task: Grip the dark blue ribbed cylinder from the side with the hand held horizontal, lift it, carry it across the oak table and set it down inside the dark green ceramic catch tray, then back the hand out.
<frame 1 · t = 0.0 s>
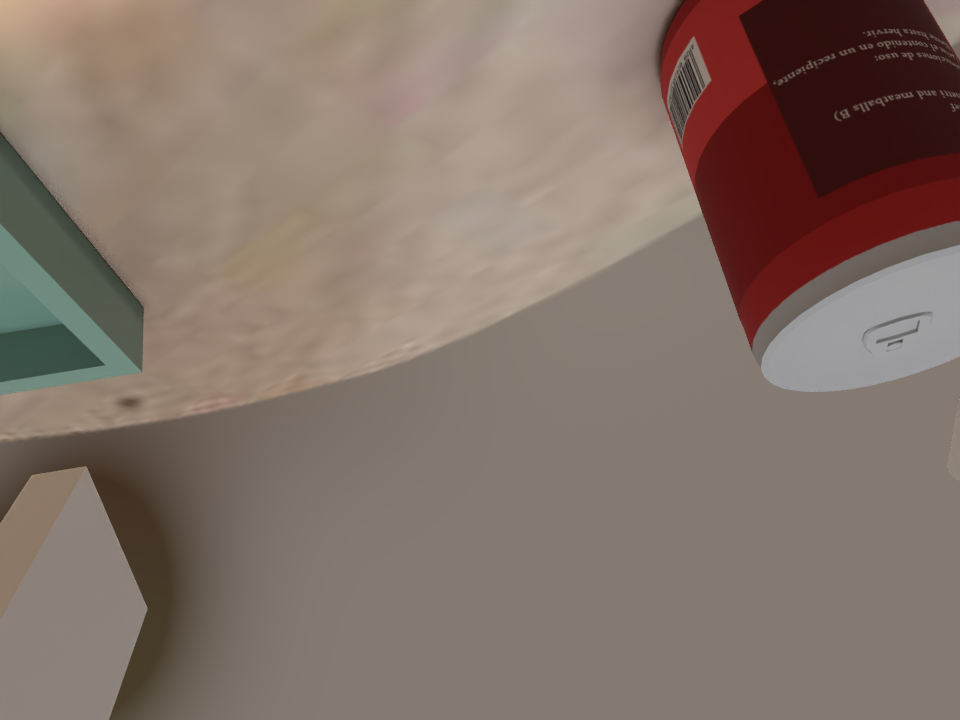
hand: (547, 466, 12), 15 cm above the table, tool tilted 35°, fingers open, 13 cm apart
canned food: (769, 26, 26), on the table
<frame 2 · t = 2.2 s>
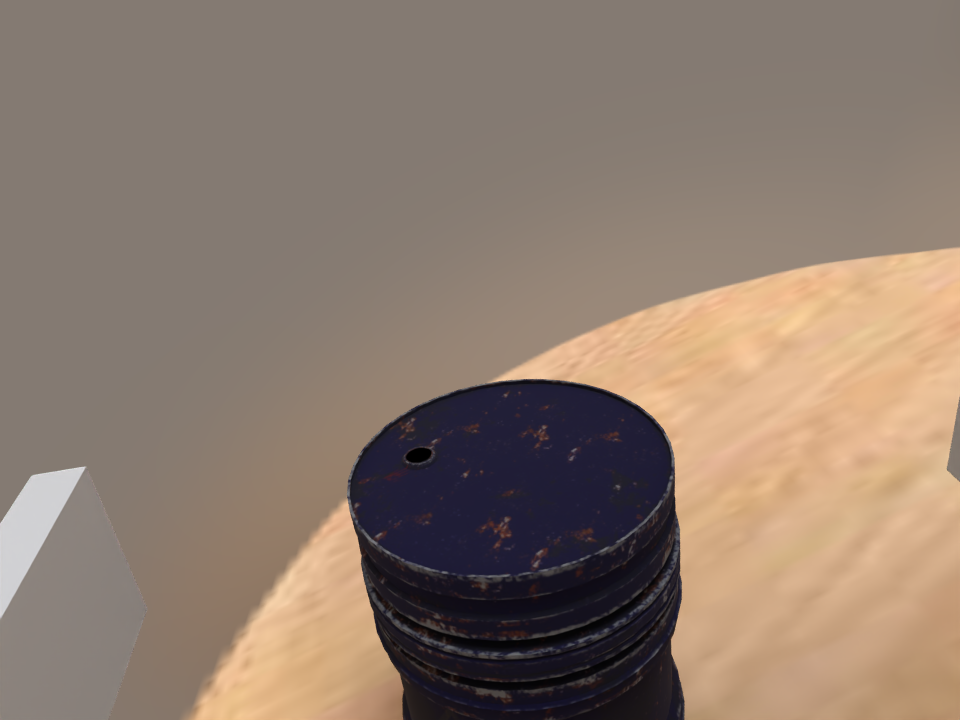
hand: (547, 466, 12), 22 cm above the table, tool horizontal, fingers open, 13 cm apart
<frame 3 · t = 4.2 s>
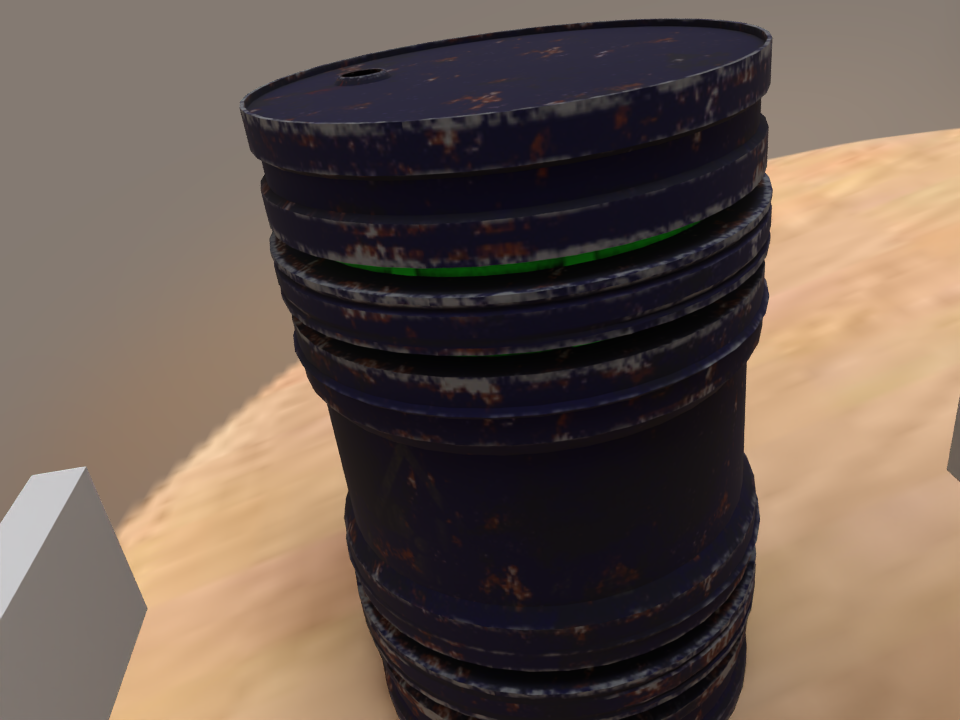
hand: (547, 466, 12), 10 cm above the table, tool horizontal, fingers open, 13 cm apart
dark blue ribbed cylinder: (561, 640, 22), on the table
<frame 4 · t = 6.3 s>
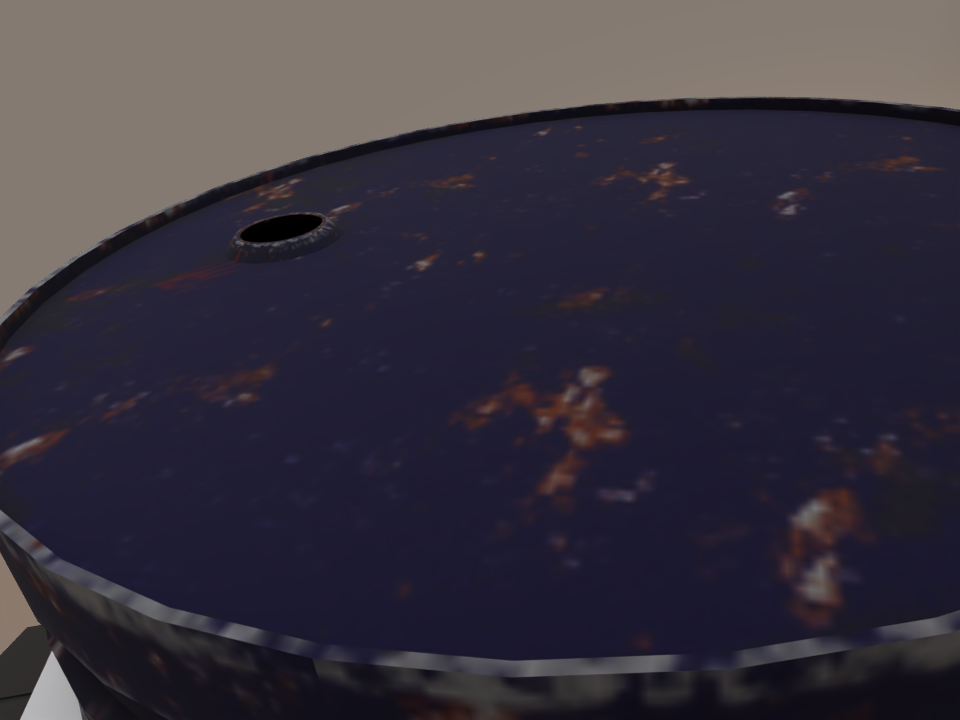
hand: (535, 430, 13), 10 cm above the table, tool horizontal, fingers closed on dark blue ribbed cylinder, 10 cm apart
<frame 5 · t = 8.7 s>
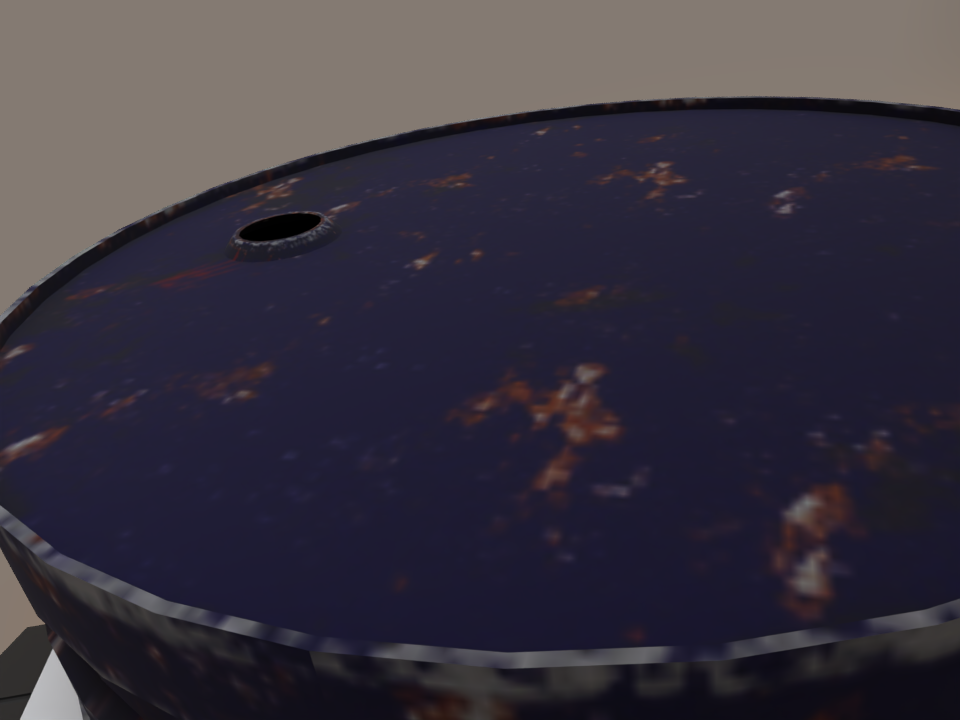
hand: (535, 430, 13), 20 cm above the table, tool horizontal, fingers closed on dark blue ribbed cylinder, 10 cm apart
when the fingers open (12 cm above the table, at t = 11.4 s): dark blue ribbed cylinder drops 1 cm, resting on catch tray.
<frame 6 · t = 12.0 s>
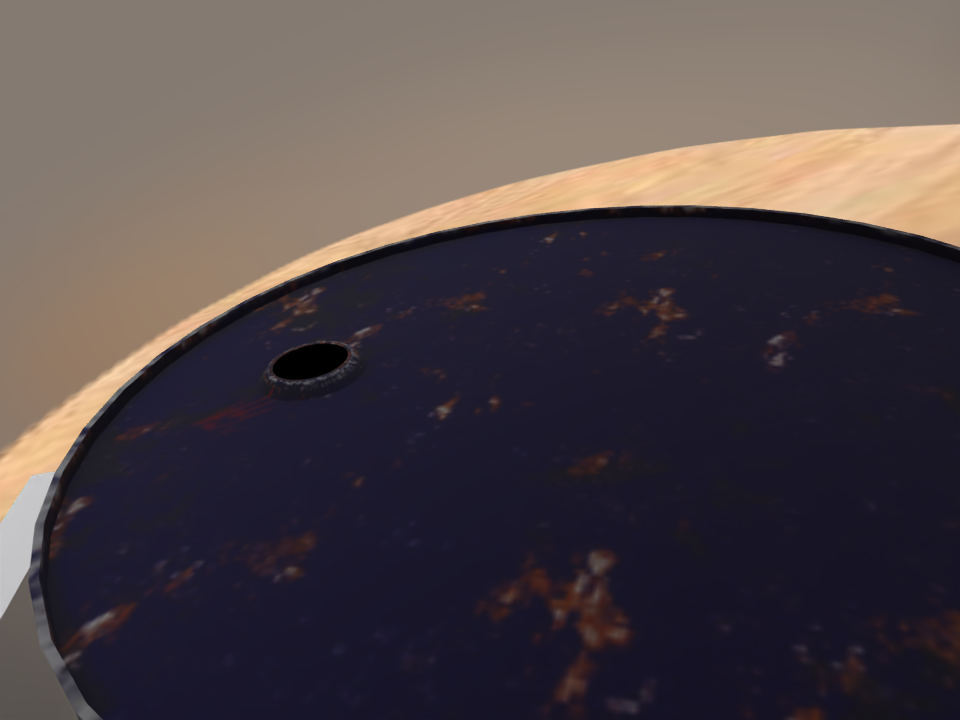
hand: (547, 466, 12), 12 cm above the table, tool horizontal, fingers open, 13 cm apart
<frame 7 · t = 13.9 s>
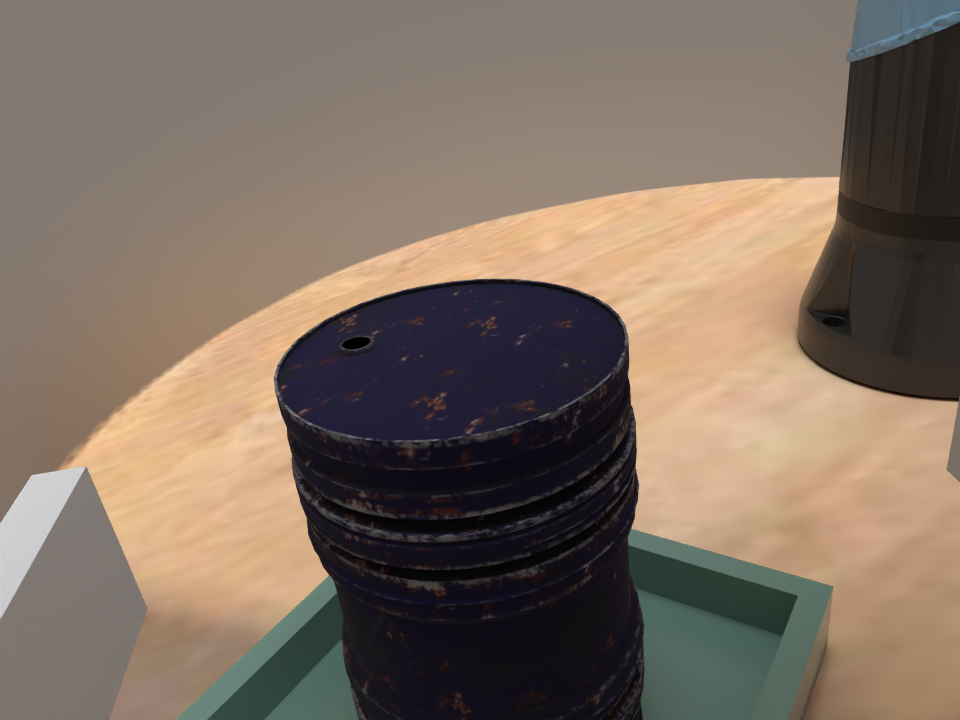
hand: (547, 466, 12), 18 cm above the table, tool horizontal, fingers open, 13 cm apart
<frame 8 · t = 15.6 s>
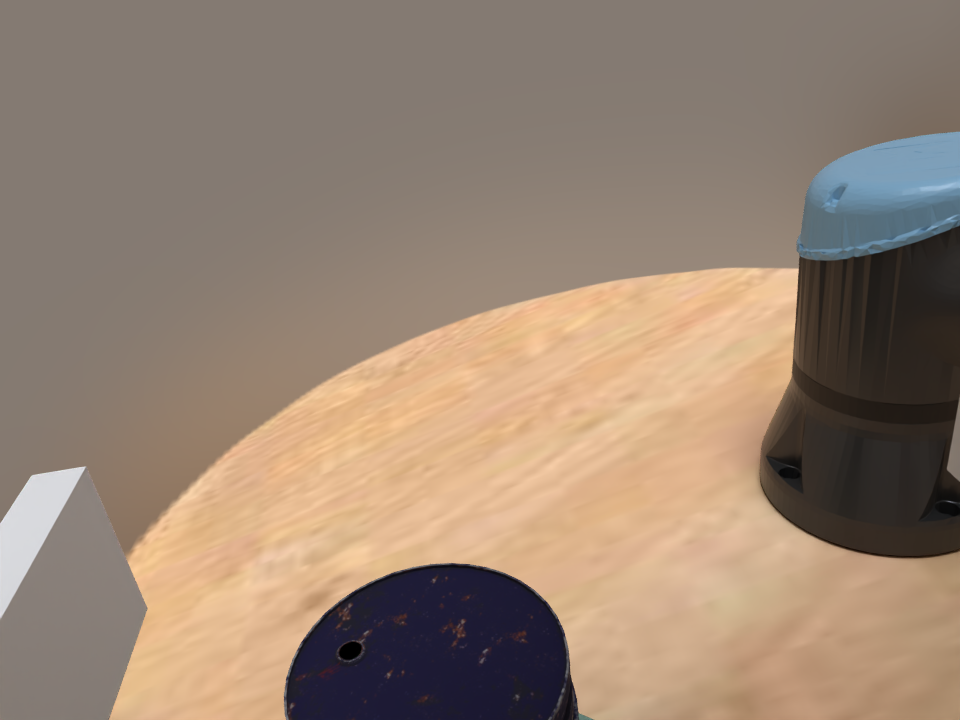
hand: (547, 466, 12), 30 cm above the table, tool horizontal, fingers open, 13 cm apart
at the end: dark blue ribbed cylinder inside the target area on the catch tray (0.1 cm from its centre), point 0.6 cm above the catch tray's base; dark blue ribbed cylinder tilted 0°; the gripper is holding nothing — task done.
